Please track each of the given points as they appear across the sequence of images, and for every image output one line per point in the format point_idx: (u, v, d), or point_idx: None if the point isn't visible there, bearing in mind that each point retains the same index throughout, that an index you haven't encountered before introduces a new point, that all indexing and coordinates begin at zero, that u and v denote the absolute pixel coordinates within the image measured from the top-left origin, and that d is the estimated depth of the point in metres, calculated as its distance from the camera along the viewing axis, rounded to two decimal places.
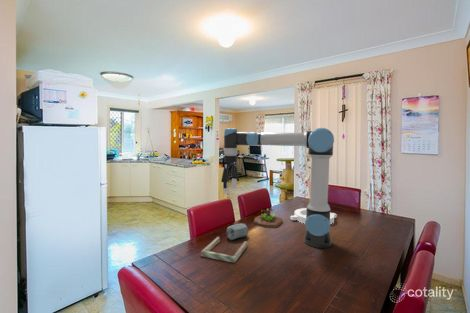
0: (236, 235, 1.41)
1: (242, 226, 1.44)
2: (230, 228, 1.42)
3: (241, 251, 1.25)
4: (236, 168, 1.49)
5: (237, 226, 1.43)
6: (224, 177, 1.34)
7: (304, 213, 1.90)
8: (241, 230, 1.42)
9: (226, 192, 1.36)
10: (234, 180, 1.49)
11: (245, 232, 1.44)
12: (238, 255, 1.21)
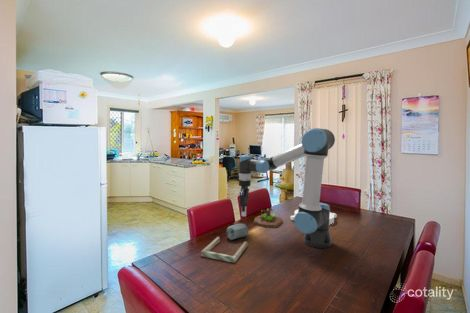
0: (236, 235, 1.41)
1: (242, 226, 1.44)
2: (230, 228, 1.42)
3: (241, 251, 1.25)
4: None
5: (237, 226, 1.43)
6: (242, 203, 1.53)
7: None
8: (241, 230, 1.42)
9: (244, 215, 1.56)
10: None
11: (245, 232, 1.44)
12: (238, 255, 1.21)
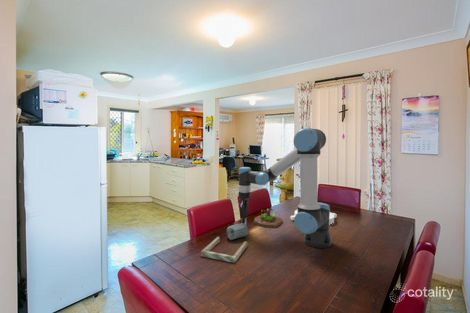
0: (236, 235, 1.41)
1: (242, 226, 1.44)
2: (230, 228, 1.42)
3: (241, 251, 1.25)
4: None
5: (237, 226, 1.43)
6: (242, 215, 1.53)
7: None
8: (241, 230, 1.42)
9: None
10: None
11: (245, 232, 1.44)
12: (238, 255, 1.21)
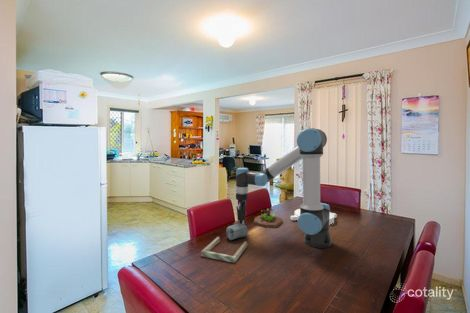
0: (236, 235, 1.40)
1: (242, 226, 1.44)
2: (230, 228, 1.41)
3: (241, 251, 1.25)
4: (245, 207, 1.56)
5: (237, 226, 1.43)
6: (239, 217, 1.48)
7: None
8: (241, 230, 1.42)
9: None
10: None
11: (245, 232, 1.43)
12: (238, 255, 1.21)
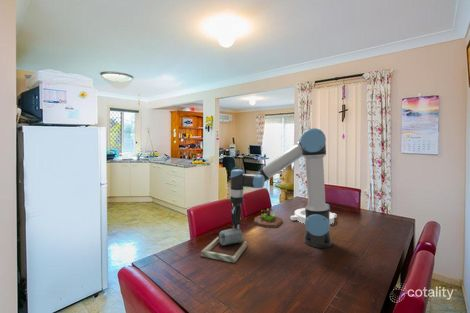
0: (227, 241, 1.33)
1: (235, 232, 1.35)
2: (221, 233, 1.34)
3: (241, 251, 1.25)
4: None
5: (229, 231, 1.35)
6: (234, 222, 1.40)
7: (304, 213, 1.90)
8: (233, 236, 1.33)
9: None
10: None
11: (238, 238, 1.35)
12: (238, 255, 1.21)
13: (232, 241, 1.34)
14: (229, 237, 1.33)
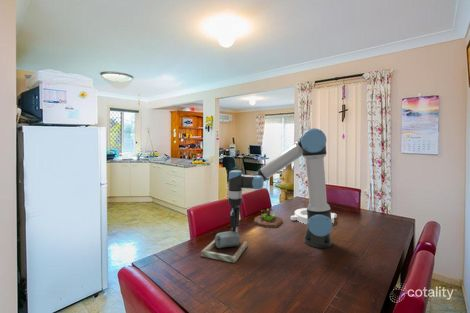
0: (223, 244, 1.29)
1: (231, 234, 1.31)
2: (217, 235, 1.31)
3: (241, 251, 1.25)
4: (239, 213, 1.44)
5: (225, 234, 1.31)
6: (232, 224, 1.37)
7: (304, 213, 1.90)
8: (229, 239, 1.30)
9: None
10: None
11: (234, 241, 1.31)
12: (238, 255, 1.21)
13: (228, 244, 1.30)
14: (224, 240, 1.29)
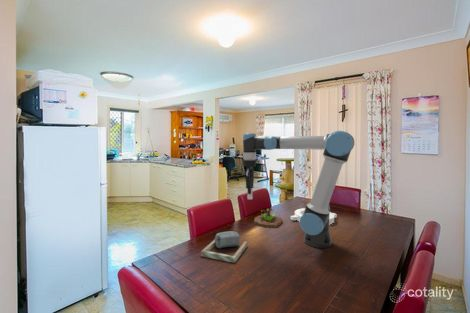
0: (223, 244, 1.29)
1: (231, 234, 1.31)
2: (217, 235, 1.31)
3: (241, 251, 1.25)
4: (253, 176, 1.49)
5: (225, 234, 1.31)
6: (248, 184, 1.41)
7: None
8: (229, 239, 1.30)
9: (250, 197, 1.45)
10: None
11: (234, 241, 1.31)
12: (238, 255, 1.21)
13: (228, 244, 1.30)
14: (224, 240, 1.29)
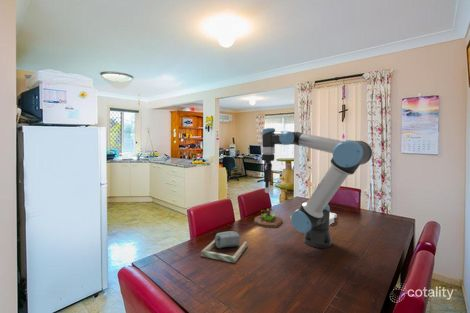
0: (223, 244, 1.29)
1: (231, 234, 1.31)
2: (217, 235, 1.31)
3: (241, 251, 1.25)
4: None
5: (225, 234, 1.31)
6: (266, 178, 1.45)
7: None
8: (229, 239, 1.30)
9: (268, 191, 1.48)
10: None
11: (234, 241, 1.31)
12: (238, 255, 1.21)
13: (228, 244, 1.30)
14: (224, 240, 1.29)
